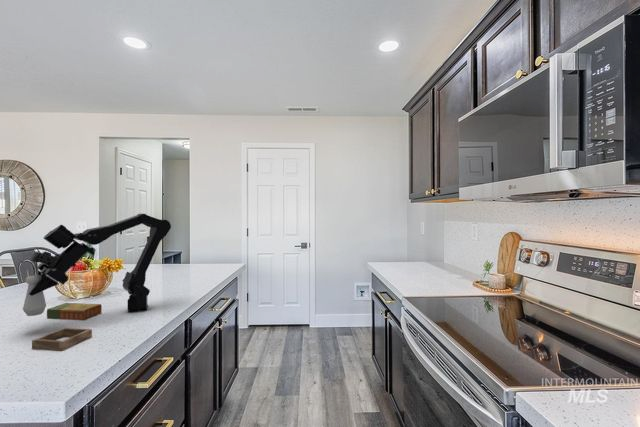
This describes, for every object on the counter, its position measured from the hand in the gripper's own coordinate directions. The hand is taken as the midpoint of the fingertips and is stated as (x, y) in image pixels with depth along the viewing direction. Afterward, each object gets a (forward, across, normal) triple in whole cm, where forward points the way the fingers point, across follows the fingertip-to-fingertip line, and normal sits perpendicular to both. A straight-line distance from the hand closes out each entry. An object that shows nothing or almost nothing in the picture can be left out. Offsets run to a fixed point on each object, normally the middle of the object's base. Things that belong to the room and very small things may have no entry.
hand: (29, 293), depth 105 cm
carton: (0, -10, +20) cm, 23 cm away
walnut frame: (+6, +18, +13) cm, 23 cm away
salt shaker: (+4, 0, +6) cm, 7 cm away
